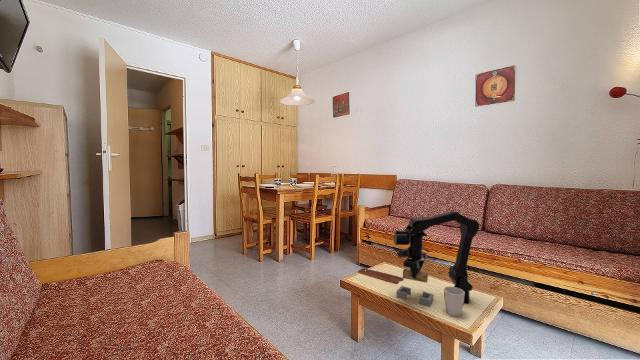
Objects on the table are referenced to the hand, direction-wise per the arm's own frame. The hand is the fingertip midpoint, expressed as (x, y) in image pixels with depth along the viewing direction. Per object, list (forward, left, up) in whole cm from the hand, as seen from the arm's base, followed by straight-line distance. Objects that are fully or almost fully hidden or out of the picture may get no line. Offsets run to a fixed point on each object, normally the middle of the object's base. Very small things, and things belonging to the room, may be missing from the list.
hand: (415, 276), depth 129 cm
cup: (-17, +3, -11) cm, 21 cm away
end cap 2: (-5, 0, -11) cm, 12 cm away
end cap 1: (+5, 0, -11) cm, 12 cm away
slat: (0, 0, -1) cm, 1 cm away
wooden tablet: (+25, -16, -12) cm, 32 cm away
